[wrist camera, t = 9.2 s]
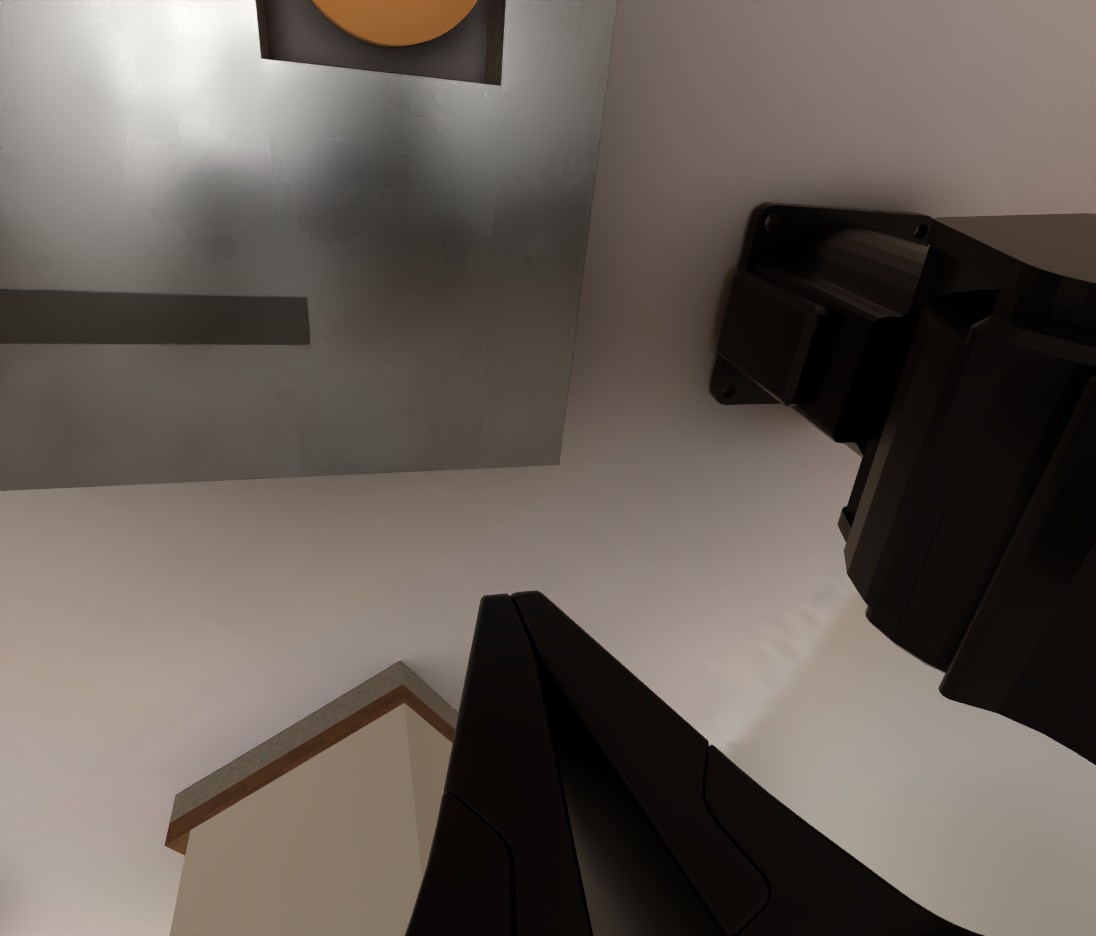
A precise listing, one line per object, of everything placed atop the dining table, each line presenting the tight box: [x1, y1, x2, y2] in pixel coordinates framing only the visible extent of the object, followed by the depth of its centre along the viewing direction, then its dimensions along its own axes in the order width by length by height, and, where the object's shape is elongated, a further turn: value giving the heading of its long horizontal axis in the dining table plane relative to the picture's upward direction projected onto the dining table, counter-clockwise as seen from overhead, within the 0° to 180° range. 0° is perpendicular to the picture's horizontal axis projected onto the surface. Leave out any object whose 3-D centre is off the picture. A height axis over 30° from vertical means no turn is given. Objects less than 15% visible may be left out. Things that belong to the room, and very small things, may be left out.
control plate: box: [0, 0, 617, 491], centre depth 14 cm, size 22×17×2 cm
